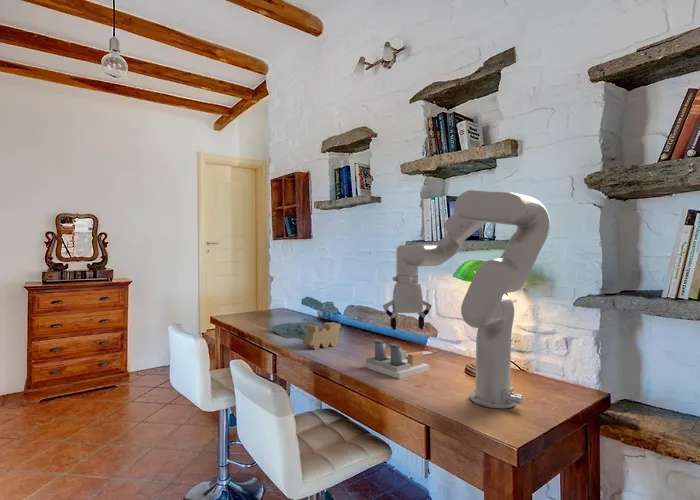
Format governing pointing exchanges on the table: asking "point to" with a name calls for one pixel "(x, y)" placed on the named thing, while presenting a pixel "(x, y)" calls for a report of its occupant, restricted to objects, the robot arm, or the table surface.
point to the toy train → (322, 335)
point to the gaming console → (426, 352)
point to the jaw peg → (396, 355)
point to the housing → (383, 365)
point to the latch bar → (415, 358)
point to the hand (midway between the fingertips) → (407, 328)
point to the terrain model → (293, 329)
